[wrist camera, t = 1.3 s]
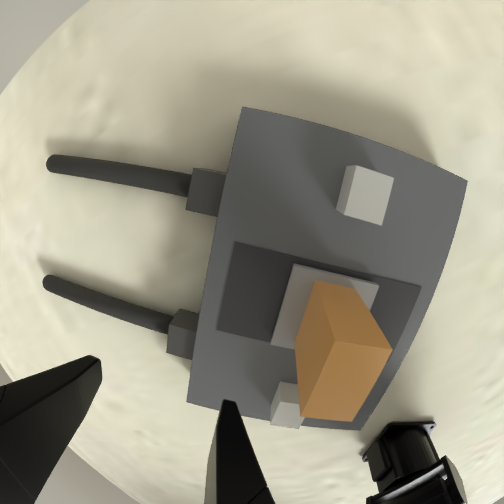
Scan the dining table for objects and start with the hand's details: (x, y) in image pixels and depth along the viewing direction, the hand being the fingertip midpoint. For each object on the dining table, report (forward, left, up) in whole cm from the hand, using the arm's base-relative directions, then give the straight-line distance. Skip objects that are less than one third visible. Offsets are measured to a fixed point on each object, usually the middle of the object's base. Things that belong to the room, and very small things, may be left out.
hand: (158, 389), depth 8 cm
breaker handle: (-7, 0, -9) cm, 11 cm away
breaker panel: (-7, 0, -12) cm, 14 cm away
